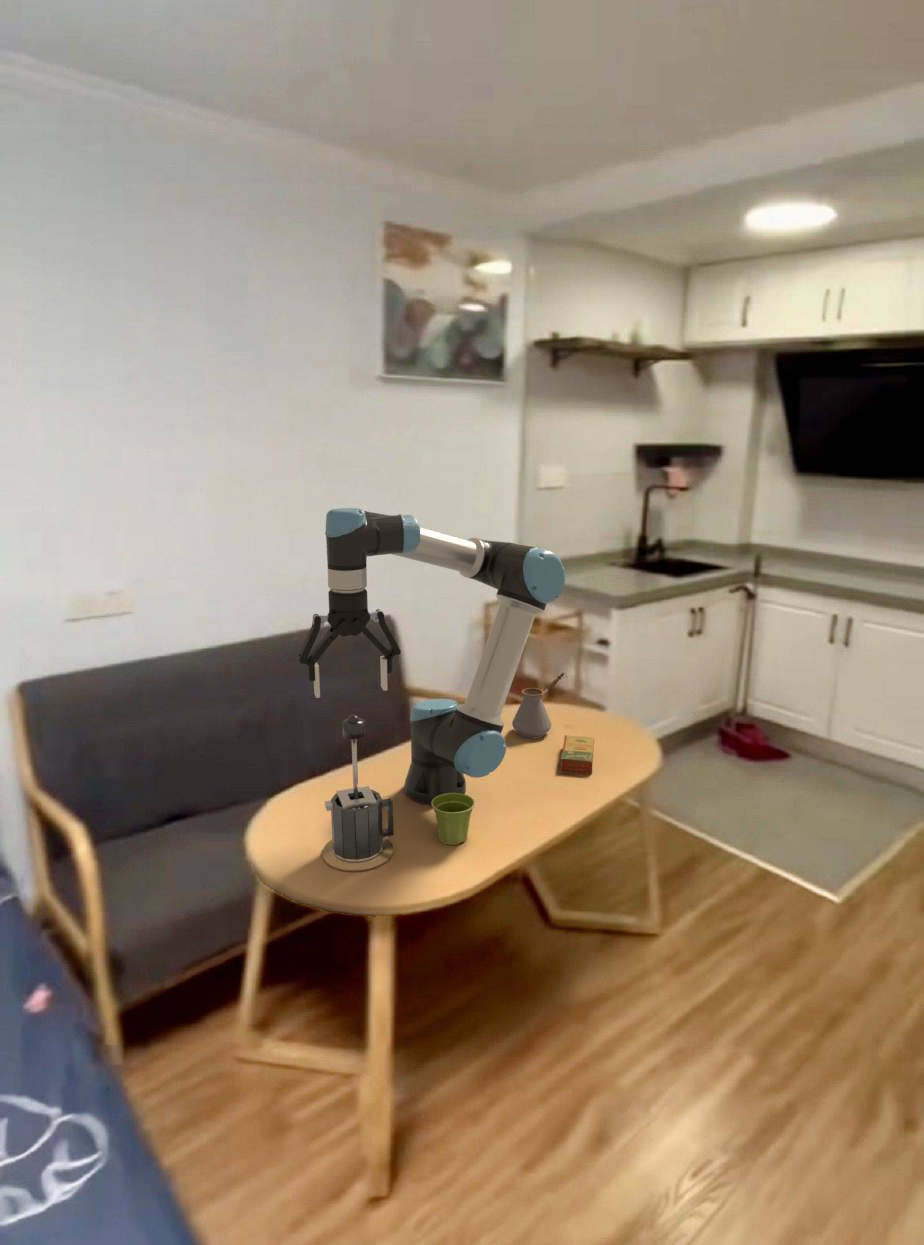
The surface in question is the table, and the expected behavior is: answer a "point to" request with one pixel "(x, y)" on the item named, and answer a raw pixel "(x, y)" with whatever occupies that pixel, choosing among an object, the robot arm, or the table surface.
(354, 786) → the plunger
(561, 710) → the table surface
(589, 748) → the carton
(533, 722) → the coffee pot
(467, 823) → the plant pot
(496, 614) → the robot arm
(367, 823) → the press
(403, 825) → the table surface
